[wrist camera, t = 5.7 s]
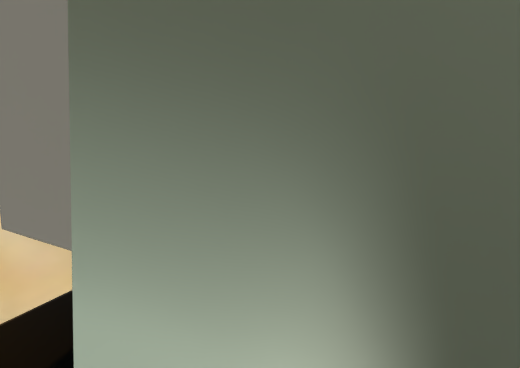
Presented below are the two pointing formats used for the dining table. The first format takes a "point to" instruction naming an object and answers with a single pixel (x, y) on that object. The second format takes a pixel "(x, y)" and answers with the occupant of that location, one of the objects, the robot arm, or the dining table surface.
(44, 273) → the dining table surface
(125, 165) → the beam
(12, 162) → the grey flat rectangular slab
